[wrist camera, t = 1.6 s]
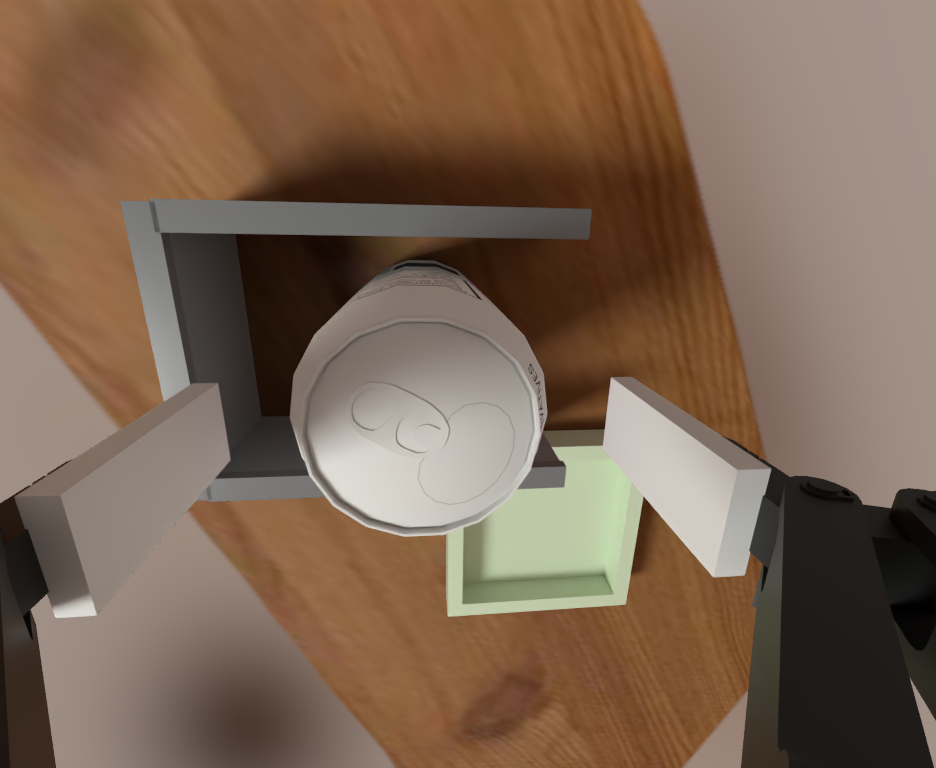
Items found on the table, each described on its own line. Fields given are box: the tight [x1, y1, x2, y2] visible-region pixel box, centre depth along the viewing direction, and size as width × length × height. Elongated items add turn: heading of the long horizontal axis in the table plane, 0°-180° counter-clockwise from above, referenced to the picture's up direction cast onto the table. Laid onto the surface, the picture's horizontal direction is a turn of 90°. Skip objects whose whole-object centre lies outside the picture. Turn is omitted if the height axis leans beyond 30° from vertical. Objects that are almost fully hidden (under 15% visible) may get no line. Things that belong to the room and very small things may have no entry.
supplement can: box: [290, 260, 547, 536], centre depth 20 cm, size 8×8×15 cm
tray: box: [446, 429, 643, 617], centre depth 31 cm, size 13×13×2 cm
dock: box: [120, 199, 592, 502], centre depth 23 cm, size 13×18×8 cm
